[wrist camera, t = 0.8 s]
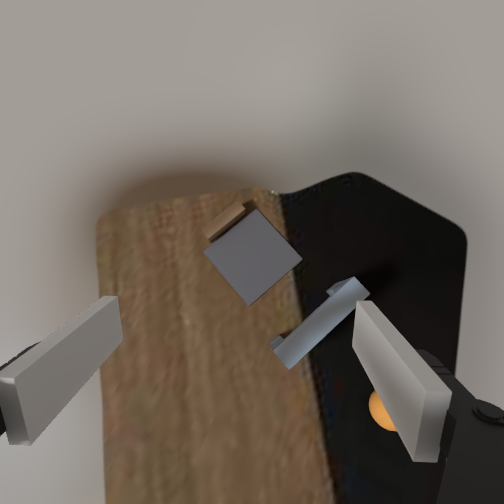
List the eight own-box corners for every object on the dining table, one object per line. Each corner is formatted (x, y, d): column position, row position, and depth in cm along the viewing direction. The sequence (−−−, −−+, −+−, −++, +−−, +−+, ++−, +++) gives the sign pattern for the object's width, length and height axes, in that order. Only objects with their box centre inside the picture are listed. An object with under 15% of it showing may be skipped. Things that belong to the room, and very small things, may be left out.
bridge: (347, 297, 46) (370, 293, 37) (281, 358, 44) (288, 369, 35) (334, 283, 46) (354, 276, 37) (269, 343, 44) (273, 350, 35)
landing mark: (302, 259, 47) (302, 259, 47) (248, 306, 46) (248, 306, 45) (256, 208, 49) (256, 208, 49) (203, 252, 48) (202, 251, 47)
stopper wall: (245, 213, 49) (245, 208, 47) (210, 242, 48) (208, 238, 46) (238, 205, 49) (237, 200, 47) (203, 234, 48) (200, 229, 46)
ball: (407, 404, 42) (429, 417, 37) (381, 430, 42) (400, 447, 36) (380, 374, 43) (398, 383, 38) (355, 399, 42) (370, 412, 37)
